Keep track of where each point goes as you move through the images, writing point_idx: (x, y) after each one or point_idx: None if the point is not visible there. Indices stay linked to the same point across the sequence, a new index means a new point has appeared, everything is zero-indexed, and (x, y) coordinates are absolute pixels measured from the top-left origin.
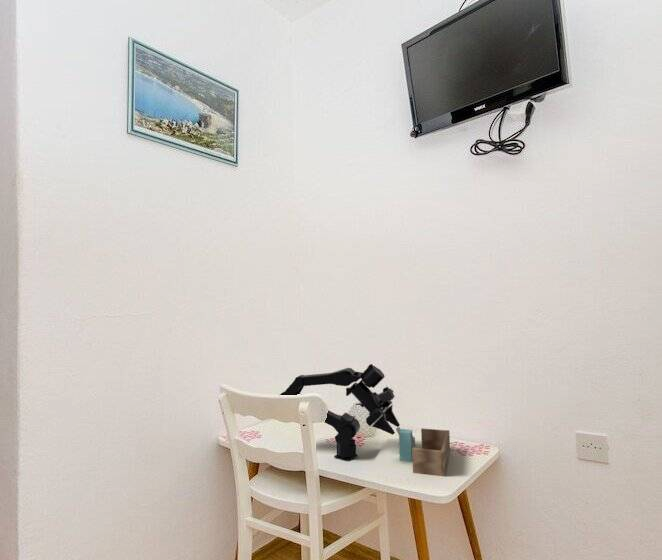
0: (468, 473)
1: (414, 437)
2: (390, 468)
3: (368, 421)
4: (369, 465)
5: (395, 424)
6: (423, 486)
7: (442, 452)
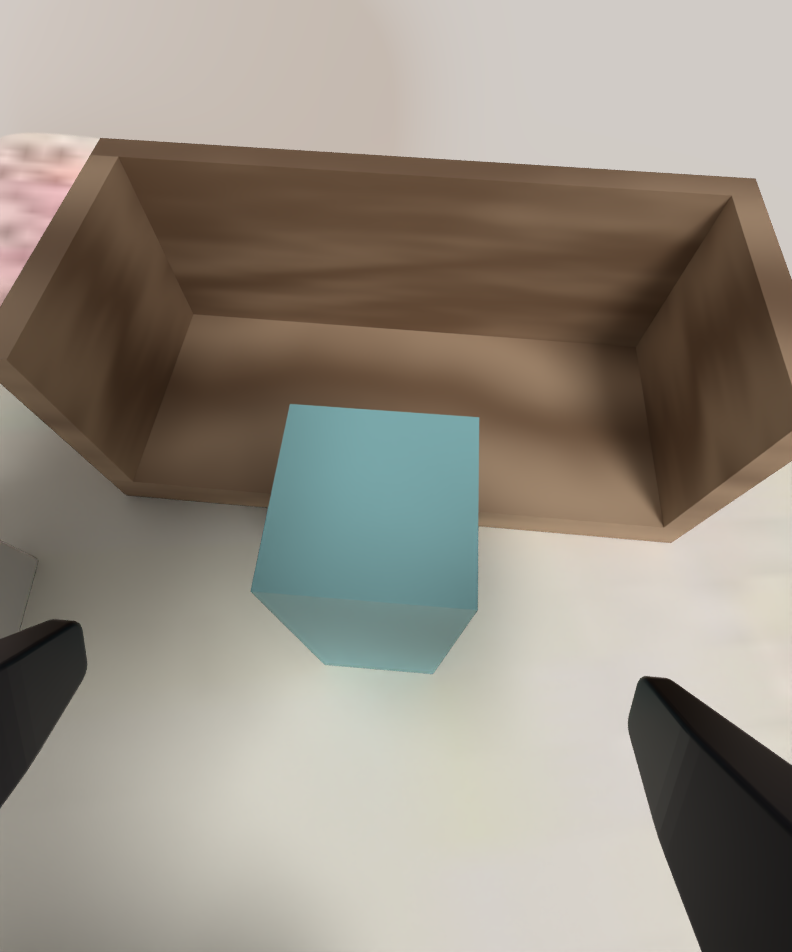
0: None
1: None
2: (547, 762)
3: None
4: None
5: (35, 725)
6: (781, 468)
7: (756, 192)
